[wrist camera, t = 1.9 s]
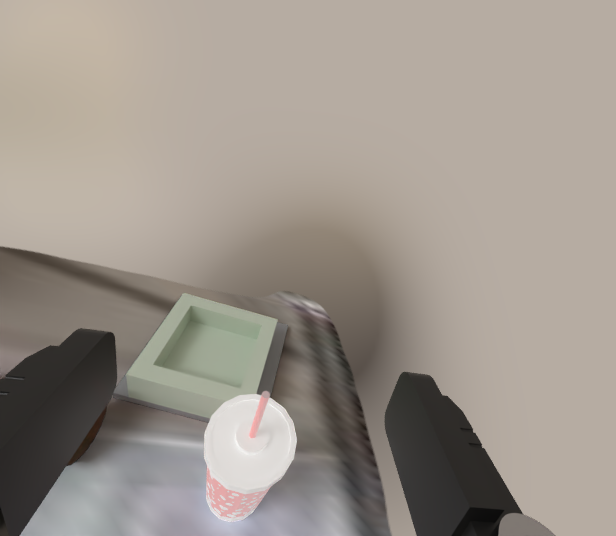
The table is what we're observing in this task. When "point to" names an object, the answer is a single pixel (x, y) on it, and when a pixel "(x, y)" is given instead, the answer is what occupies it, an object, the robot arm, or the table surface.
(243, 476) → the beverage cup
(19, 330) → the table surface
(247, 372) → the pale green square tray
